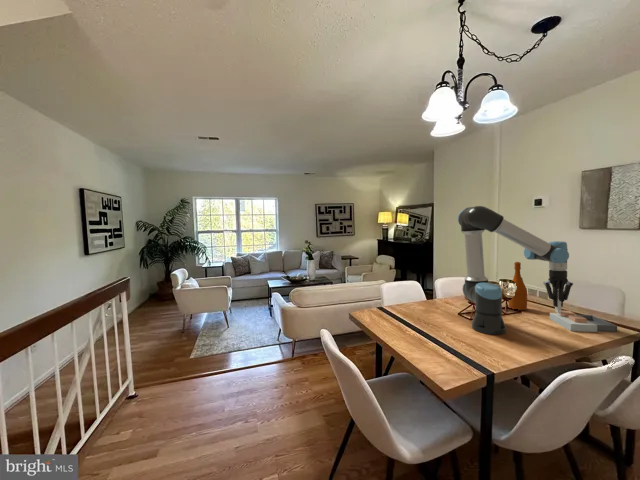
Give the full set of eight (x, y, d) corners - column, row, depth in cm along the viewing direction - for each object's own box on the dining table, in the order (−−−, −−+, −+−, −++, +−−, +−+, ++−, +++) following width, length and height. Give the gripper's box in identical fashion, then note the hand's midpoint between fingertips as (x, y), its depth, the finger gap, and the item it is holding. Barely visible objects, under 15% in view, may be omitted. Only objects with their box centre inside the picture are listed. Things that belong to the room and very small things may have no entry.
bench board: (570, 330, 137) (570, 324, 137) (549, 318, 155) (549, 312, 154) (597, 332, 134) (597, 325, 134) (572, 319, 152) (572, 313, 152)
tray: (596, 331, 136) (596, 325, 136) (573, 319, 152) (573, 314, 152) (617, 331, 134) (617, 325, 134) (592, 320, 150) (592, 315, 150)
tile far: (564, 316, 147) (564, 313, 147) (558, 313, 152) (558, 310, 152) (575, 317, 146) (575, 313, 146) (569, 314, 151) (569, 310, 151)
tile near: (575, 322, 139) (575, 318, 139) (568, 319, 144) (568, 315, 144) (586, 322, 138) (586, 318, 138) (579, 319, 143) (579, 315, 143)
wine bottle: (530, 311, 169) (530, 262, 168) (512, 310, 171) (512, 263, 170) (522, 306, 179) (522, 260, 177) (505, 306, 181) (505, 261, 179)
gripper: (548, 270, 147) (548, 314, 148) (576, 270, 144) (576, 315, 145) (540, 268, 154) (540, 310, 155) (567, 268, 151) (567, 310, 152)
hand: (558, 312), depth 150 cm, fingers closed
